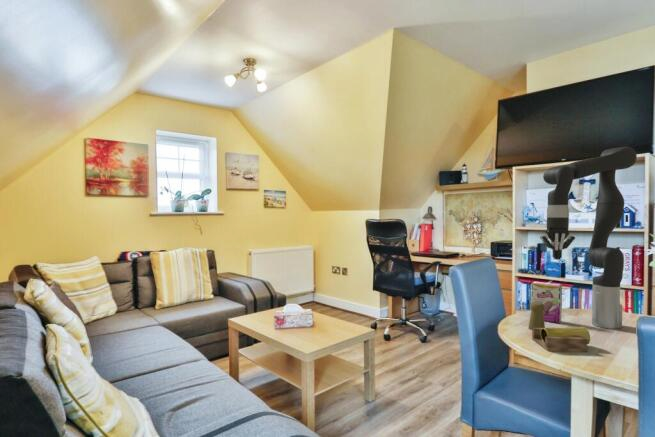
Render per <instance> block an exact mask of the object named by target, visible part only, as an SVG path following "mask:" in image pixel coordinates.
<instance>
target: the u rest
mask: <svg viewBox="0 0 655 437" xmlns="http://www.w3.org/2000/svg"><path fill="white" fill-rule="evenodd" d="M541 329H542V328H532V330H531V334H532V335H531V338H532V341H534V342H535V343H536V344H537V345H538V346H540V347H541V348H542V349H543V350H546V351H547V352H570V353H571V352H574V353H575V352H576V353H587V352H588V344H587V339H586V338H581V337H545V343H544V342H543V341H542V339H541V335H540V331H541Z"/></svg>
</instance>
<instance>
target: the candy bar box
mask: <svg viewBox="0 0 655 437" xmlns="http://www.w3.org/2000/svg"><path fill="white" fill-rule="evenodd" d="M530 297H531V302H530V304H531V303H532V302H539V303H542V304H543V305H544V311H543V317H544V322H546V323H547V322H549V323H553V324H560V323H561V322H562V309H563V308H562V306H563V305H562V304H563V303H562V300H563V285H562V284H559V283H550V282H541V281H533V282H532V283H531V296H530Z"/></svg>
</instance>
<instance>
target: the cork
mask: <svg viewBox="0 0 655 437" xmlns="http://www.w3.org/2000/svg"><path fill="white" fill-rule="evenodd" d="M529 304H530V305H529V309H530V316H529V321H528V330H530V331H532V328H546V326H545V321H544V317H543V311H544V305H543V304H542V303H539V302H532V303H531V302H530V303H529Z"/></svg>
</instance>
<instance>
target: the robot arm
mask: <svg viewBox="0 0 655 437" xmlns="http://www.w3.org/2000/svg"><path fill="white" fill-rule="evenodd" d="M636 162H637V152H636V150H635V149H634V148H632V147H630V146H621V147H619V146H618V147H613V148H609V149H605V150H603V151H602V152H601V154H600V156H597V157H590V158H585V159H582V160H577V161H574V162H570V163H568V164H562V165H557V166H553V167H549V168H547V169H546V170H545V171H544V173H543V176H542V178H543V181H544V182H545V183H546V184H548V185H555V188H554V189H553V190H550V191H549V192H548V194H547V207H546V208H547V209H546V230H545V234H543V235H540V236H539V238H540V240H541V241H542V242H543V244H545V246H546V247H547V249H550V250H552V258H553V260H561V259H562V257H563V250H566V249H567V250H568V247H569V246H570V245H571V244H572V243H573V242H574V241H575V240H576V237H575V236H573V235H571V234H570V231H569V226H570V210H569V194H570V192H571V188H572V185H573V183H574V182H573V181H574V180H579V179H583V178H585V177H590V176H592V175H596V174H598V178H599V180H598V191H597V192H598V193H597V201H596V206H595V207H596V208H595V218H594V226H593V232H592V237H591V240H590V244H589V250H588V254H587V258H588V263H589V264H590V265H591V267H593V268H597V269H603V273H602V274H601V275H597V276H596V275H595V276H594V277H593V278H592V294H591V295H592V300H591V301H592V302H591V303H592V304H591V305H592V308H591V311H592V312H591V314H592V315H591V324H592V325H593V326H596V327H598V328H603V329H609V330H616V329H622V328H623V304H622V303H621V282H622V281H623V276H624V267H625V266H624V264H625V262H624V261H625V258H624V254H623V252H622V250H621V249H619V248H617V247H610V246H608V242H609V241H608V240H609V237H610V235H611V234H612V232H613V231H614V230H615V228H616V227H617V226H618V225H619V224H620V222H621V221H622V219H623V217H624V210H625V199H624V197H623V194H622V192H621V191H620V189H619V188H618V186H617V184H616V171H618V170H619V171H620V170H625V169H628V168H629V169H630V168H631V167H633V166H634V165H635V164H636Z"/></svg>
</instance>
